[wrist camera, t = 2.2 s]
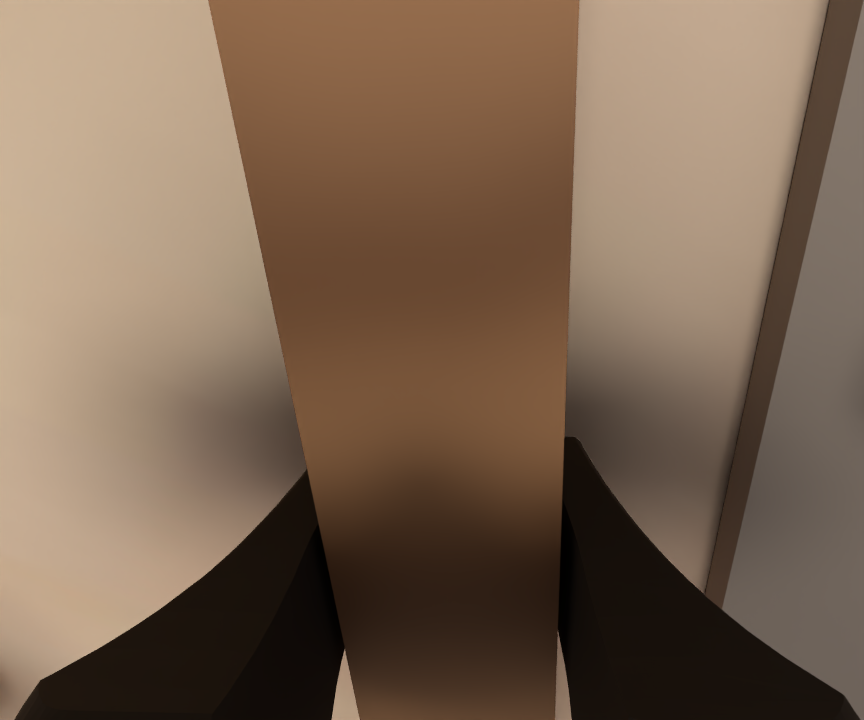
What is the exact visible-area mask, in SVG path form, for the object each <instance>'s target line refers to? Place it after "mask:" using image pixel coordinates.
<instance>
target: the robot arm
mask: <svg viewBox="0 0 864 720" xmlns="http://www.w3.org/2000/svg"><path fill="white" fill-rule="evenodd" d="M558 632H559V637H560V642H561V647H562V653H563V658H564V663H565V668H566V675H567V681H568V688H569V696H570V706H571V716H572V720H860V718H859V717H858V715H857V714H856V712H855V711H854V709H853V708H852V706H851V705H850V703H849V702H848V700H847V698H846V697H845V696H844V695H843V694H842V693H840V692H839V691H837V690H836V689H834V688H832V687H831V686H829V685H828V684H826V683H825V682H823V681H821V680H820V679H818V678H817V677H815V676H814V675H812V674H810V673H809V672H807V671H806V670H804V669H802V668H801V667H799V666H798V665H796V664H795V663H793V662H791V661H790V660H788V659H787V658H785V657H784V656H782V655H781V654H779V653H778V652H777V651H775V650H774V649H772V648H771V647H770V646H768V645H767V644H766V643H764V642H763V641H761V640H760V639H759V638H757V637H756V636H754V635H753V634H752V633H750V632H749V631H748V630H746V629H745V628H744V627H743V626H741V625H740V624H739V623H738V622H736V621H735V620H734V619H733V618H732V617H730V616H729V615H728V614H727V613H725V612H724V611H723V610H722V609H721V608H719V607H718V606H717V605H716V604H714V603H713V602H712V601H711V600H710V599H708V598H707V597H706V596H705V595H704V594H703V593H702V592H701V591H700V590H699V589H697V588H696V587H695V586H694V585H693V584H692V583H691V582H690V581H689V580H688V579H687V578H686V577H685V576H684V575H683V574H682V573H681V572H680V571H679V570H678V569H677V568H676V567H675V566H674V565H673V564H672V563H671V562H670V561H669V560H668V559H667V558H666V557H665V556H664V555H663V554H662V553H661V552H660V551H659V550H658V549H657V547H656V546H655V545H654V544H653V543H652V542H651V541H650V540H649V538H648V537H647V536H646V535H645V534H644V533H643V531H642V530H641V529H640V528H639V527H638V526H637V524H636V523H635V522H634V521H633V519H632V518H631V517H630V516H629V514H628V513H627V512H626V511H625V509H624V508H623V507H622V505H621V504H620V503H619V501H618V500H617V499H616V497H615V496H614V495H613V493H612V492H611V491H610V489H609V488H608V486H607V485H606V483H605V482H604V480H603V479H602V477H601V476H600V474H599V473H598V471H597V470H596V468H595V467H594V465H593V464H592V462H591V460H590V459H589V457H588V455H587V454H586V452H585V450H584V448H583V447H582V445H581V443H580V441H579V440H577V439H576V438H575V437H564V460H563V490H562V519H561V548H560V578H559V607H558ZM344 649H345V646H344V642H343V637H342V632H341V627H340V623H339V618H338V613H337V608H336V604H335V599H334V594H333V589H332V585H331V580H330V575H329V570H328V566H327V561H326V556H325V551H324V547H323V542H322V537H321V532H320V528H319V523H318V518H317V513H316V509H315V504H314V499H313V494H312V490H311V485H310V480H309V476H308V471H307V470H306V471H305V472H304V474H303V475H302V476H301V477H300V479H299V480H298V481H297V482H296V483H295V485H294V486H293V487H292V488H291V489H290V490H289V492H288V493H287V494H286V495H285V496H284V497H283V499H282V500H281V501H280V502H279V503H278V504H277V506H276V507H275V508H274V509H273V510H272V511H271V512H270V513H269V514H268V515H267V516H266V518H265V519H264V520H263V521H262V522H261V523H260V524H259V525H258V526H257V527H256V528H255V529H254V530H253V531H252V532H251V533H250V534H249V535H248V536H247V537H246V538H245V539H244V540H243V541H242V542H241V543H240V544H239V545H238V546H237V547H236V548H235V549H234V550H233V551H232V552H231V553H230V554H229V555H227V556H226V557H225V558H224V559H223V560H222V561H221V562H220V563H219V564H217V565H216V566H215V567H214V568H213V569H212V570H211V571H209V572H208V573H207V574H206V575H205V576H203V577H202V578H201V579H200V580H198V581H197V582H196V583H194V584H193V585H192V586H190V587H189V588H188V589H186V590H185V591H184V592H182V593H181V594H180V595H178V596H177V597H176V598H174V599H173V600H172V601H170V602H169V603H168V604H167V605H165V606H164V607H162V608H161V609H160V610H158V611H157V612H155V613H154V614H152V615H151V616H149V617H148V618H146V619H145V620H143V621H142V622H140V623H139V624H137V625H136V626H134V627H133V628H131V629H130V630H128V631H126V632H125V633H123V634H122V635H120V636H118V637H117V638H115V639H114V640H112V641H110V642H109V643H107V644H105V645H104V646H102V647H100V648H99V649H97V650H95V651H93V652H91V653H90V654H88V655H86V656H84V657H82V658H81V659H79V660H77V661H75V662H73V663H72V664H70V665H68V666H66V667H64V668H63V669H61V670H59V671H57V672H55V673H54V674H52V675H50V676H48V677H46V678H44V679H42V680H40V682H39V683H38V685H37V686H36V688H35V689H34V690H33V692H32V693H31V695H30V696H29V698H28V699H27V701H26V702H25V703H24V705H23V706H22V708H21V710H20V711H19V713H18V715H17V716H16V718H15V720H331V719H332V712H333V705H334V699H335V692H336V685H337V680H338V675H339V671H340V666H341V661H342V657H343V653H344Z"/></svg>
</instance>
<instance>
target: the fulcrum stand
mask: <svg viewBox="0 0 864 720" xmlns="http://www.w3.org/2000/svg"><path fill="white" fill-rule="evenodd" d="M705 596H706V597H707V598H708V599H710V600H711V601H712V602H713V603H714V604H716V605H717V606H718V607H719V608H721V609H722V610H723V611H724V612H725V613H727V614H728V615H729V616H730V617H732V618H733V619H734V620H735V621H736V622H738V623H739V624H740V625H741V626H743V627H744V628H745V629H746V630H748V631H749V632H750V633H752V634H753V635H754V636H756V637H757V638H759V639H760V640H761V641H763V642H764V643H766V644H767V645H768V646H770V647H771V648H772V649H774V650H775V651H777V652H778V653H779V654H781V655H782V656H784V657H785V658H787V659H788V660H790V661H791V662H793V663H795V664H796V665H798V666H799V667H801V668H802V669H804V670H806V671H807V672H809V673H810V674H812V675H814V676H815V677H817V678H818V679H820V680H821V681H823V682H825V683H826V684H828V685H829V686H831V687H832V688H834V689H836V690H837V691H839V692H840V693H842V694H843V695H844V696H845V697H846V698H847V700H848V702H849V703H850V705H851V706H852V708H853V709H854V711H855V712H856V714H857V715H858V717H859V718H860V720H864V0H830V3H829V8H828V13H827V17H826V22H825V27H824V32H823V36H822V41H821V46H820V51H819V55H818V60H817V65H816V70H815V74H814V79H813V84H812V89H811V93H810V98H809V103H808V108H807V112H806V117H805V122H804V127H803V131H802V136H801V141H800V146H799V150H798V155H797V160H796V165H795V169H794V174H793V179H792V184H791V189H790V193H789V198H788V203H787V208H786V212H785V217H784V222H783V227H782V231H781V236H780V241H779V246H778V250H777V255H776V260H775V265H774V269H773V274H772V279H771V284H770V288H769V293H768V298H767V303H766V307H765V312H764V317H763V322H762V326H761V331H760V336H759V341H758V345H757V350H756V355H755V360H754V364H753V369H752V374H751V379H750V383H749V388H748V393H747V398H746V402H745V407H744V412H743V417H742V421H741V426H740V431H739V436H738V440H737V445H736V450H735V455H734V459H733V464H732V469H731V474H730V478H729V483H728V488H727V493H726V497H725V502H724V507H723V512H722V516H721V521H720V526H719V531H718V535H717V540H716V545H715V550H714V554H713V559H712V564H711V569H710V573H709V578H708V583H707V588H706V592H705Z"/></svg>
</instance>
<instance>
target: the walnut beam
mask: <svg viewBox="0 0 864 720" xmlns="http://www.w3.org/2000/svg"><path fill="white" fill-rule="evenodd" d="M208 1H209V6H210V11H211V15H212V20H213V25H214V30H215V34H216V39H217V44H218V49H219V53H220V58H221V63H222V68H223V72H224V77H225V82H226V87H227V91H228V96H229V101H230V106H231V110H232V115H233V120H234V124H235V129H236V134H237V139H238V143H239V148H240V153H241V158H242V162H243V167H244V172H245V177H246V181H247V186H248V191H249V196H250V200H251V205H252V210H253V215H254V219H255V224H256V229H257V234H258V238H259V243H260V248H261V253H262V257H263V262H264V267H265V272H266V276H267V281H268V286H269V291H270V295H271V300H272V305H273V309H274V314H275V319H276V324H277V328H278V333H279V338H280V343H281V347H282V352H283V357H284V362H285V366H286V371H287V376H288V381H289V385H290V390H291V395H292V400H293V404H294V409H295V414H296V419H297V423H298V428H299V433H300V438H301V442H302V447H303V452H304V457H305V461H306V466H307V471H308V476H309V480H310V485H311V490H312V494H313V499H314V504H315V509H316V513H317V518H318V523H319V528H320V532H321V537H322V542H323V547H324V551H325V556H326V561H327V566H328V570H329V575H330V580H331V585H332V589H333V594H334V599H335V604H336V608H337V613H338V618H339V623H340V627H341V632H342V637H343V642H344V646H345V651H346V656H347V661H348V665H349V670H350V675H351V680H352V684H353V689H354V694H355V698H356V703H357V708H358V713H359V717H360V720H555V696H556V666H557V637H558V607H559V578H560V548H561V519H562V490H563V460H564V431H565V401H566V372H567V342H568V313H569V283H570V254H571V224H572V195H573V166H574V136H575V107H576V77H577V48H578V18H579V0H208Z"/></svg>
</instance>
